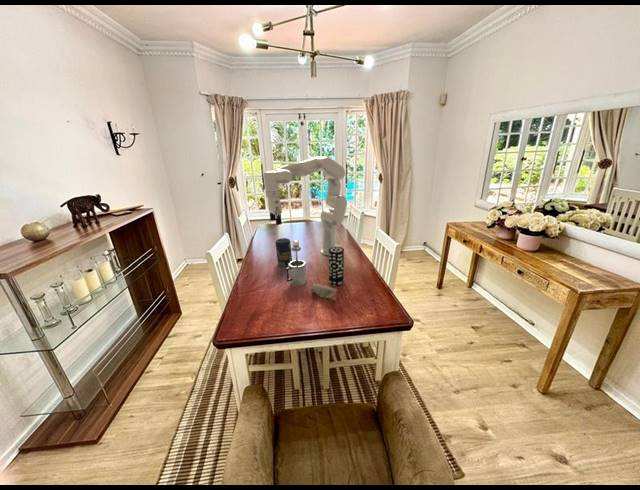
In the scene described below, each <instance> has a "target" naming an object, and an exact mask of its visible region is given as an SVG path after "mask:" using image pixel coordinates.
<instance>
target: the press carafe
mask: <svg viewBox="0 0 640 490" xmlns="http://www.w3.org/2000/svg"><path fill="white" fill-rule="evenodd" d="M294 264H296V259H294V260H292V261H291V262H290V263H289V264H288V266H287V267H285V274H286V275H285V277H286V282H287V283H289V282H290V284H291V285H292V286H293V287H302V286H304V285H306V283H307V269H306V267H307V266H306V265H307V262H306V261H304V260H302V259H298V264H302V266H298V267H296V266H293V265H294Z"/></svg>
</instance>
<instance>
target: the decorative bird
mask: <svg viewBox="0 0 640 490" xmlns="http://www.w3.org/2000/svg"><path fill="white" fill-rule="evenodd" d="M311 292H312V293H316V294H317V295H318V296H319V297H320V298H326V299H331V300H332V301H333V302H332V304H334V303H336V301H339V297H337V296H336V293H337V292H338V289H337V288H333V287H332V286H328V285H324V284H323V285H322V284H318V283H314V284H312V286H311ZM334 296H335V298H336V300H335V299H334V298H333V297H334Z"/></svg>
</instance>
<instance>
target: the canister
mask: <svg viewBox="0 0 640 490" xmlns="http://www.w3.org/2000/svg"><path fill="white" fill-rule="evenodd" d="M291 243H292V242H291V240H290V238H286V237H282V238H278V239H277V240H275V250H276V259H277V265H278V266H279V267H289V266H288V264H289V263H290V262H291V261H293V256H292V245H291Z"/></svg>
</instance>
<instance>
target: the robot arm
mask: <svg viewBox="0 0 640 490" xmlns="http://www.w3.org/2000/svg"><path fill="white" fill-rule="evenodd" d="M317 172H322V174H323V176H324V178H325V180H327V192H326V197H325V205H326V206H328V208H325V209H323V210H322V211H321V212H320V213H321V214H320V221H321V228H322V229H321V230H322V249H321V250H320V253H321V254H322V255H325V256H329V248H332V247H341V248H343V247H342V245H341V244H337V227H339V226H341V225H342V224H343V223H344V219H345V215H346V210H347V206H348V200H347V197H346V196H345V195H342V194H341V188H342V184H341V180H343V179H344V178H345V176H346V170H345V168H344V166H342V165H341V164H339V163H338V162H336V161H335V160H334V159H332V158H331V157H329V156H315V157H312V158H309V159H306V160H302V161H300V162H295V163H292V164H287V165H284V166H281V167H279V168H275V169H273V170H267V171H265V172H263V180H264V187H265V197H266V198H267V207H268V208H267V209H268V212H269V218H270V221H271V222H274V221H275V224H276V225H275V226H279V225H282V223H283V222H282V214H283V211H282V209H283V208H282V204H281V198H280V195H281V194H280V187H279V186H280V185H281V184H289V183H290V182H291V181H292V180H293V178H301V177H307V176H309V175H313V174H315V173H317ZM329 207H330V208H329ZM331 208H332V209H331Z"/></svg>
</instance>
